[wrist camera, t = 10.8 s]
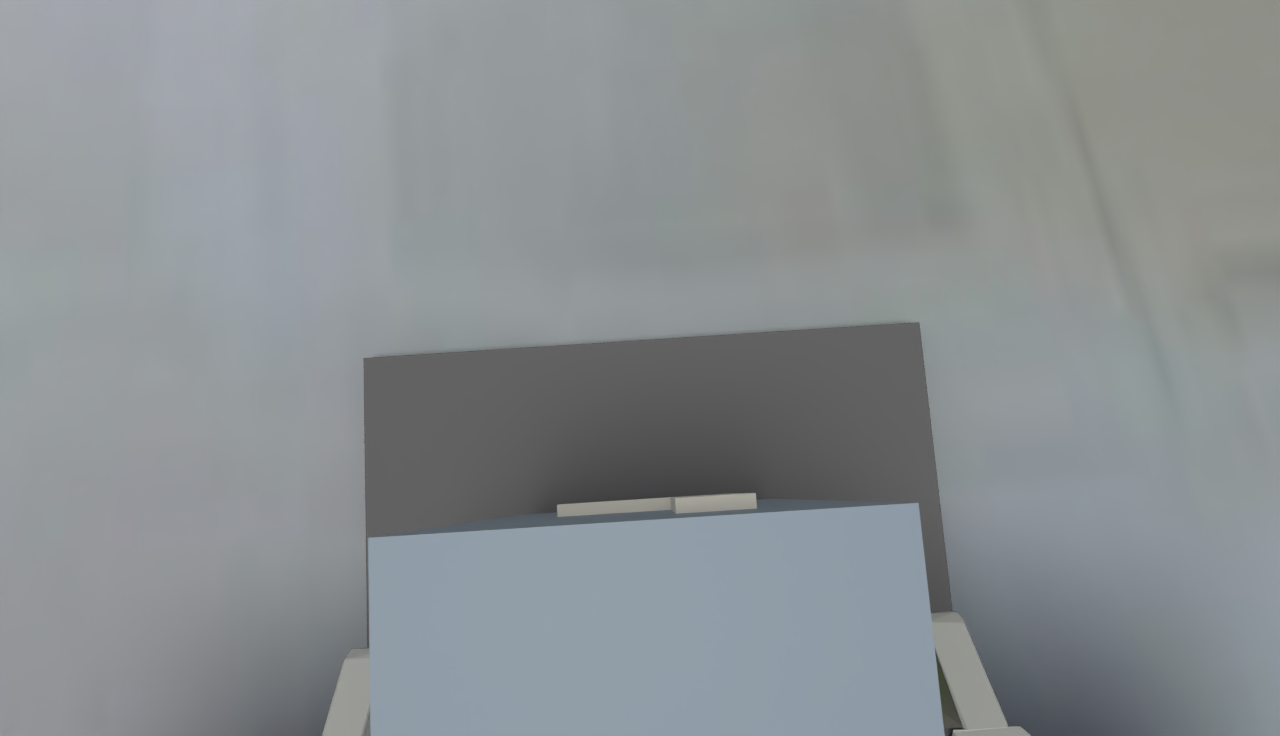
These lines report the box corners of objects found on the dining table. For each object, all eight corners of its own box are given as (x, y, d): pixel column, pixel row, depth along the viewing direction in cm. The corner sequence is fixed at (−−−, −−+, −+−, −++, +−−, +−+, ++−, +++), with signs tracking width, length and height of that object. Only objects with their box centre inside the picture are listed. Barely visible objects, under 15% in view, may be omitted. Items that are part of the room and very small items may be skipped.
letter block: (797, 766, 16) (989, 1123, 7) (532, 782, 16) (375, 1159, 7) (773, 489, 16) (916, 483, 8) (521, 505, 16) (367, 518, 8)
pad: (976, 913, 17) (988, 929, 16) (381, 949, 17) (371, 965, 16) (910, 327, 18) (919, 321, 18) (372, 362, 19) (363, 358, 18)
